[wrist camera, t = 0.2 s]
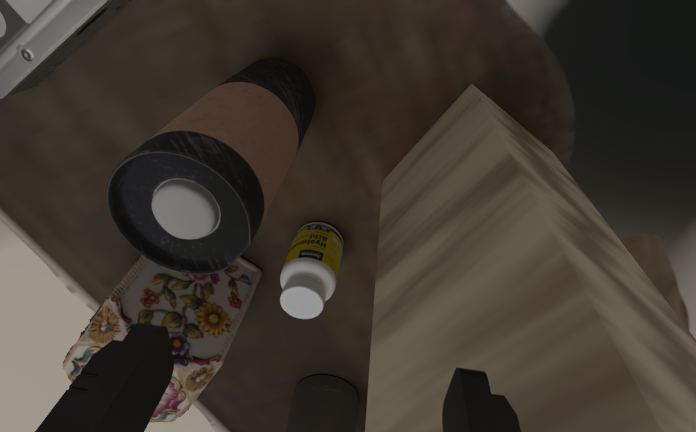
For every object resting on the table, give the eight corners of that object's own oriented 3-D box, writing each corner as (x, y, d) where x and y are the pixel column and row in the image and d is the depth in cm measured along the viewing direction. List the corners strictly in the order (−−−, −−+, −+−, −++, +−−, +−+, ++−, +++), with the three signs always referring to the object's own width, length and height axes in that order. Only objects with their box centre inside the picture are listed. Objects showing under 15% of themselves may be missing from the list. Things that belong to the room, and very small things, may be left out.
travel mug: (226, 56, 36) (77, 149, 20) (313, 52, 35) (236, 146, 19) (243, 140, 40) (133, 276, 24) (321, 138, 39) (265, 278, 23)
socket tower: (552, 151, 38) (1290, 1120, 7) (457, 235, 44) (608, 961, 12) (471, 83, 35) (1034, 1110, 4) (382, 181, 41) (331, 917, 10)
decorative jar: (177, 210, 46) (69, 340, 31) (266, 268, 49) (207, 411, 34) (135, 272, 51) (25, 407, 36) (217, 320, 54) (147, 463, 39)
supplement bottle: (335, 215, 44) (320, 276, 36) (350, 255, 47) (339, 321, 38) (287, 225, 45) (262, 286, 37) (304, 263, 48) (285, 329, 40)
